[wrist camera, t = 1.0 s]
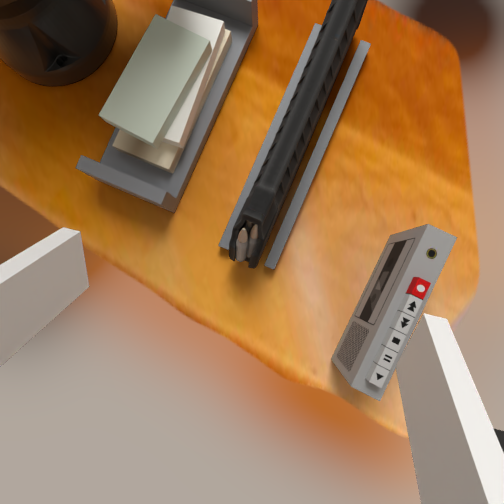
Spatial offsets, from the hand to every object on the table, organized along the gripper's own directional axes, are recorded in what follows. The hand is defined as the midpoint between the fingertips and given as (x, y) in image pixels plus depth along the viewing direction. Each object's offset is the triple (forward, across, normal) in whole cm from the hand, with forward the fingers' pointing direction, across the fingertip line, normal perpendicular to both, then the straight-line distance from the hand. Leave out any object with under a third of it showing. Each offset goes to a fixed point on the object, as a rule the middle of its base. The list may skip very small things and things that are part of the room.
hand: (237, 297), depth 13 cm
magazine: (+31, -1, -1) cm, 31 cm away
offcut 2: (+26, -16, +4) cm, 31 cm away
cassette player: (+22, +11, -14) cm, 29 cm away
